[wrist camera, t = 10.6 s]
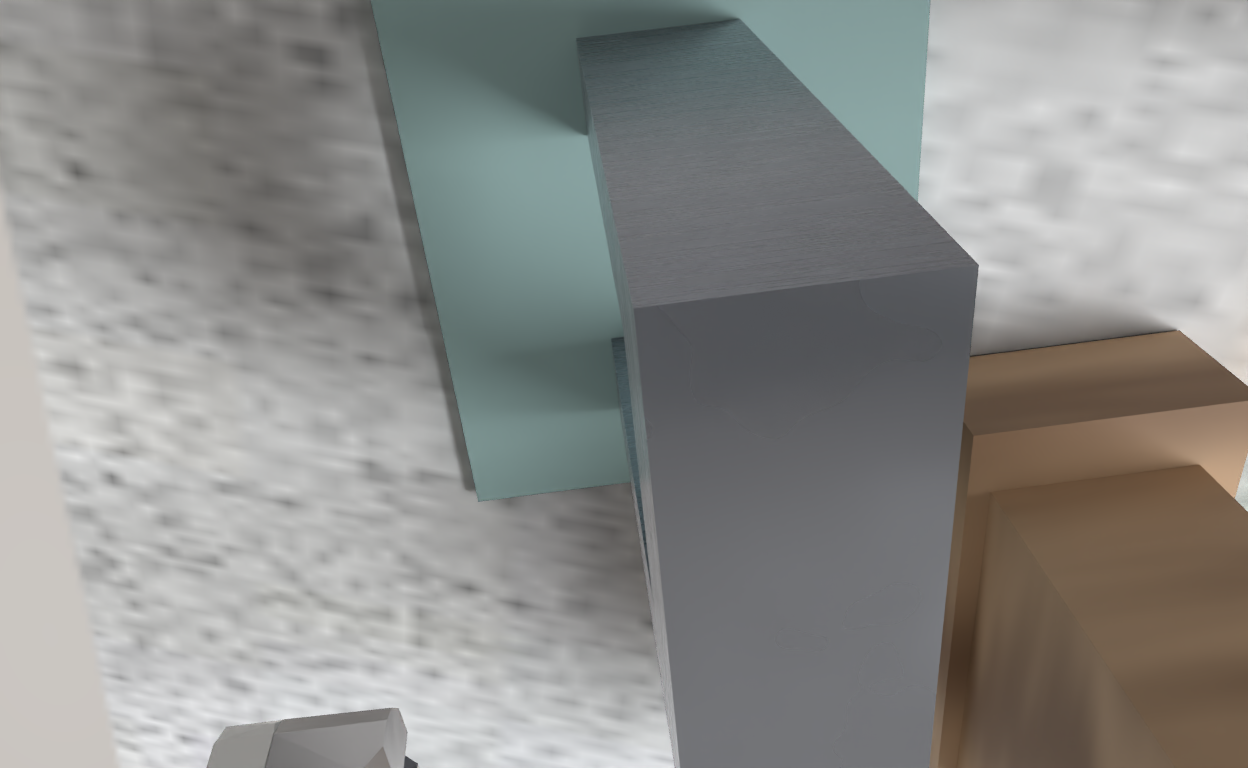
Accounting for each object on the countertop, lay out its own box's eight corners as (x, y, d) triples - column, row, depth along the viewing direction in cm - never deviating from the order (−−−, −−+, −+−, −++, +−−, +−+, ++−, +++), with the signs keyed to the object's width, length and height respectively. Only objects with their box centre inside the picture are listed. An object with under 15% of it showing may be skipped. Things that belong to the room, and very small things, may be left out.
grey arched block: (575, 38, 18) (633, 307, 8) (740, 18, 18) (978, 264, 8) (619, 409, 22) (690, 868, 13) (752, 392, 22) (922, 836, 13)
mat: (361, -60, 17) (358, -57, 17) (930, -125, 17) (938, -123, 17) (478, 491, 23) (478, 501, 23) (896, 437, 24) (901, 447, 23)
